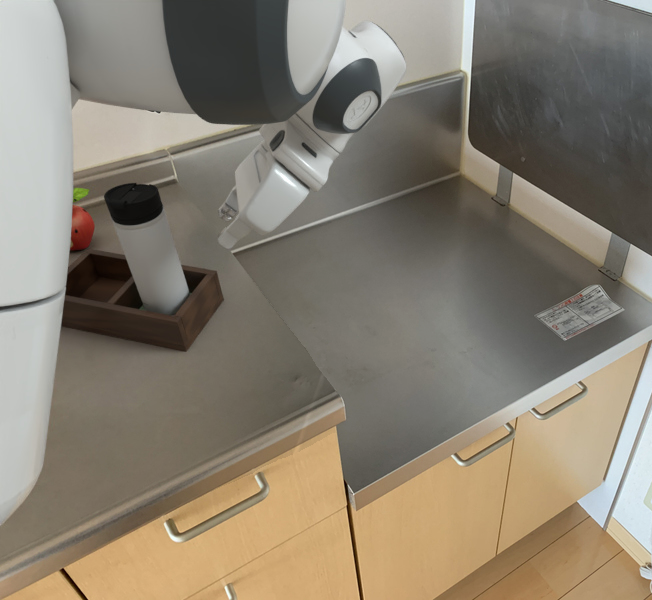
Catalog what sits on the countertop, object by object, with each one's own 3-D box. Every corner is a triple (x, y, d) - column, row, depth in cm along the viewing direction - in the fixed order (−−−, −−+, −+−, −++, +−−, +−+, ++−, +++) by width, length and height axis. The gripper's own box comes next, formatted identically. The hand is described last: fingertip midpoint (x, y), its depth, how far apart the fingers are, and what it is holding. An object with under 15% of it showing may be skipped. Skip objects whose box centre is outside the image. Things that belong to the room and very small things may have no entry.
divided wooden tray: (186, 351, 82) (176, 322, 79) (52, 324, 86) (37, 295, 83) (224, 299, 90) (216, 270, 87) (100, 276, 94) (88, 248, 91)
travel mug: (138, 325, 85) (90, 201, 71) (160, 294, 89) (118, 173, 76) (180, 330, 84) (140, 206, 71) (200, 299, 89) (165, 177, 75)
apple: (70, 264, 97) (45, 210, 90) (49, 247, 100) (24, 195, 94) (114, 242, 101) (94, 190, 95) (93, 227, 105) (72, 175, 98)
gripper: (269, 112, 80) (202, 189, 83) (284, 147, 63) (198, 244, 65) (305, 144, 83) (240, 218, 86) (329, 186, 66) (246, 278, 68)
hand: (222, 229), depth 75 cm, fingers open, 8 cm apart
